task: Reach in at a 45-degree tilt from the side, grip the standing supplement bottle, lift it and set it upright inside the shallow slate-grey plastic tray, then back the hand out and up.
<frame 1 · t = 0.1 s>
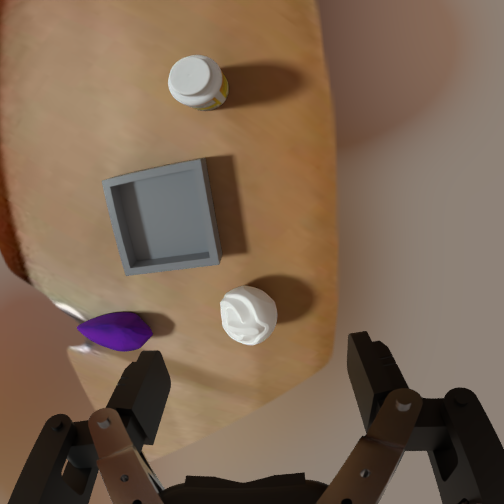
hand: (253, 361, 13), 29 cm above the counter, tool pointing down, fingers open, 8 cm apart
tray: (166, 214, 40), on the counter
supplement bottle: (207, 90, 35), on the counter
white swirled ball: (249, 300, 45), on the counter
crystal: (117, 322, 47), on the counter
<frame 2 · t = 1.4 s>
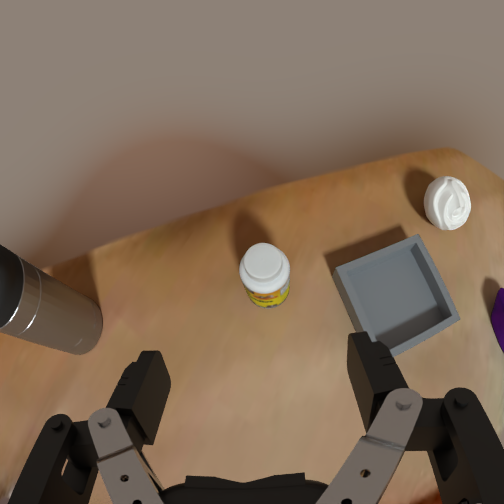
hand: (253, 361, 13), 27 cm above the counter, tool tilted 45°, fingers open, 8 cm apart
tray: (393, 302, 39), on the counter
supplement bottle: (268, 289, 42), on the counter
white swirled ball: (437, 216, 43), on the counter
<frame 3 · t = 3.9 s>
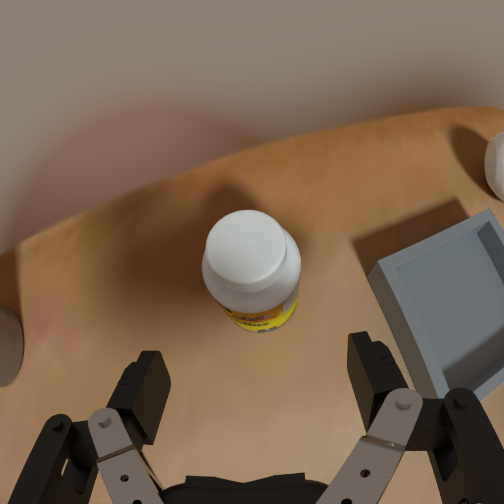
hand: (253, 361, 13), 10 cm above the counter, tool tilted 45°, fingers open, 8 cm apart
tray: (459, 314, 22), on the counter
supplement bottle: (261, 300, 25), on the counter
white swirled ball: (498, 188, 26), on the counter
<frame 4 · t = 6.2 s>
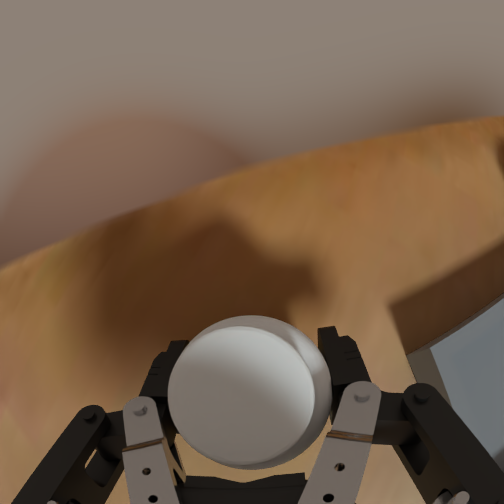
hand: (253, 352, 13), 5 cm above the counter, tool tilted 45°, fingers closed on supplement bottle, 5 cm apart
supplement bottle: (265, 390, 17), on the counter, touching gripper
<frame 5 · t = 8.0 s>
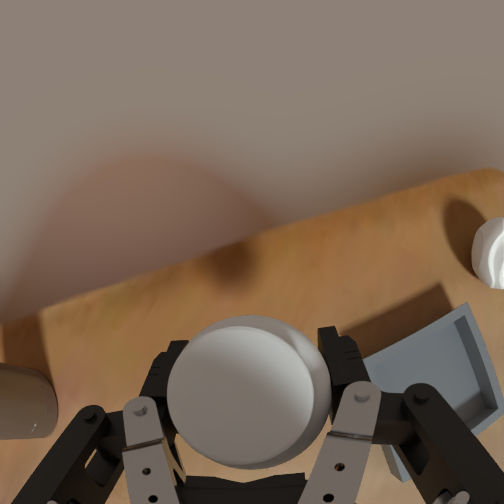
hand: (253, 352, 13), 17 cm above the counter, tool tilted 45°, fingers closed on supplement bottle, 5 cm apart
tray: (427, 392, 26), on the counter
supplement bottle: (265, 390, 17), point 12 cm above the counter, touching gripper
white swirled ball: (483, 266, 30), on the counter
when the fingers open (7 cm above the counter, at t = 11.4 s): supplement bottle drops 1 cm, resting on tray.
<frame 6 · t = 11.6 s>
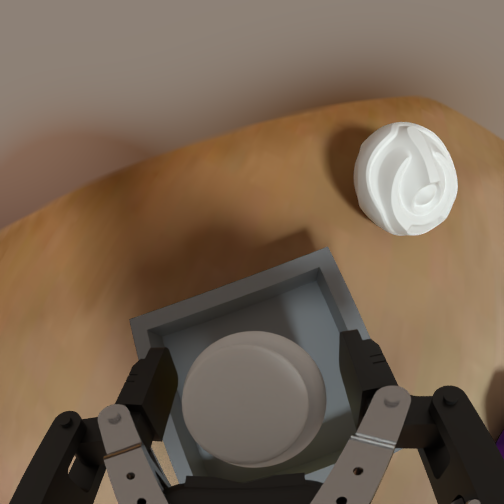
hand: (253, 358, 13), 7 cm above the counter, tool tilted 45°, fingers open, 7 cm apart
tray: (267, 389, 19), on the counter
supplement bottle: (268, 393, 18), point 1 cm above the counter, touching tray
white swirled ball: (390, 208, 24), on the counter
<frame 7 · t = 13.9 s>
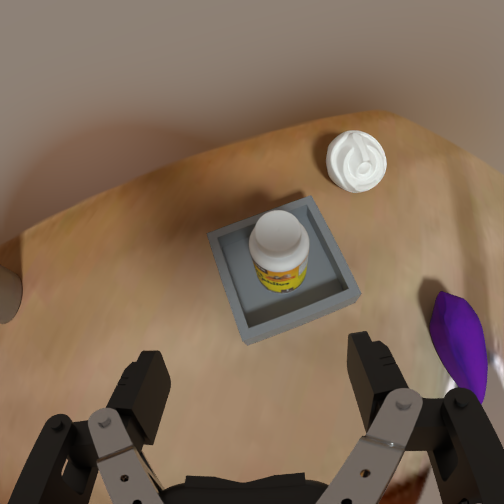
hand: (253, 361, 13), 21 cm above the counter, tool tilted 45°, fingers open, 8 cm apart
tray: (281, 273, 37), on the counter
supplement bottle: (282, 273, 36), point 1 cm above the counter, touching tray
white swirled ball: (351, 180, 41), on the counter
crystal: (453, 353, 30), on the counter
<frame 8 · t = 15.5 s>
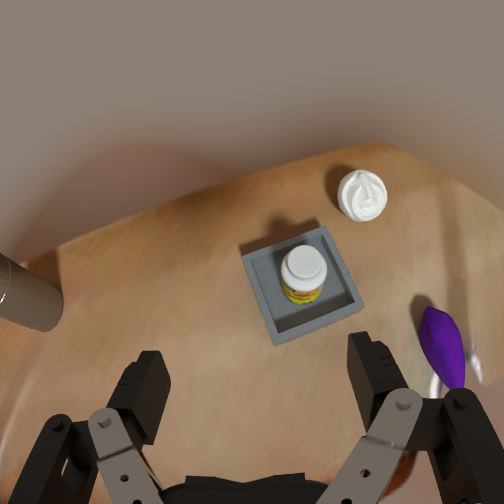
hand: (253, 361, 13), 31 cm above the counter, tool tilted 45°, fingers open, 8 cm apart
tray: (301, 288, 45), on the counter
supplement bottle: (301, 288, 44), point 1 cm above the counter, touching tray
white swirled ball: (356, 209, 50), on the counter
crystal: (438, 355, 39), on the counter
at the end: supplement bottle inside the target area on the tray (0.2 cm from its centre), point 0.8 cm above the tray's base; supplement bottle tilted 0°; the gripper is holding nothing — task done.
